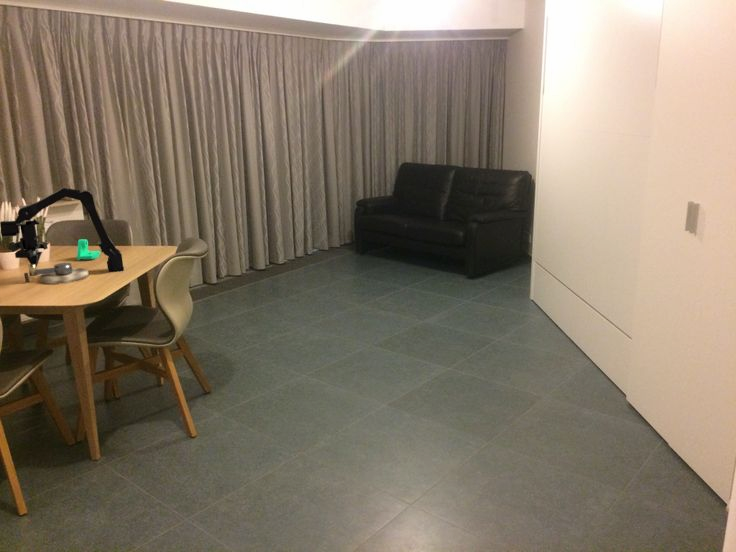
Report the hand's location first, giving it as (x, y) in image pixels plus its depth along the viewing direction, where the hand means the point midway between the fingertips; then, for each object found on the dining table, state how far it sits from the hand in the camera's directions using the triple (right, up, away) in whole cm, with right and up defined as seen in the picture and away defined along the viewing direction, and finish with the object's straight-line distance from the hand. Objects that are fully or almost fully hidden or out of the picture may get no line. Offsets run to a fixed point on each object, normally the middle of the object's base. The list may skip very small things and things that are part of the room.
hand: (34, 268), depth 258 cm
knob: (+7, -3, +1) cm, 8 cm away
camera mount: (+5, +6, +40) cm, 41 cm away
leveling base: (+9, -5, +3) cm, 11 cm away
